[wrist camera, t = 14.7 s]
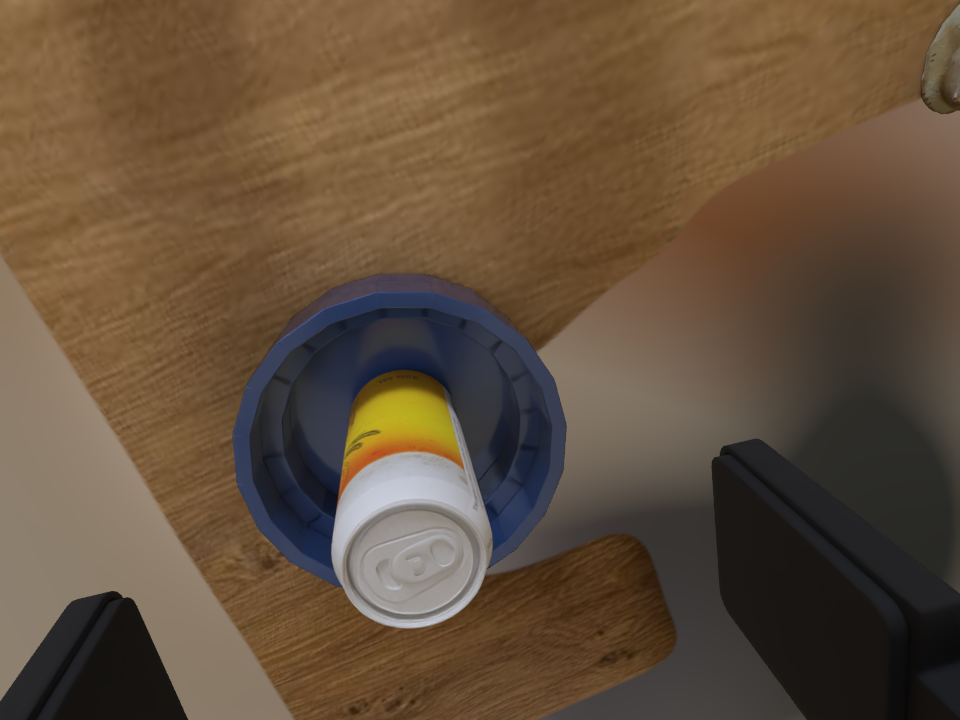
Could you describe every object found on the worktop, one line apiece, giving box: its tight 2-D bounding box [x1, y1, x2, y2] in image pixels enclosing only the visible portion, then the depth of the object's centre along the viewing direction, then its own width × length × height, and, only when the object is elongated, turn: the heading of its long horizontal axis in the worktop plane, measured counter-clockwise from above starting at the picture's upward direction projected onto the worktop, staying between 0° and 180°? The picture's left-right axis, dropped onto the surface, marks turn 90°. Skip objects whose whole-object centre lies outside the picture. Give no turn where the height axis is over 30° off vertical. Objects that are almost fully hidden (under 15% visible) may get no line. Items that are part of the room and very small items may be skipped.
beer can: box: [331, 370, 493, 629], centre depth 30 cm, size 6×6×15 cm
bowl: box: [232, 274, 567, 587], centre depth 35 cm, size 17×17×6 cm
